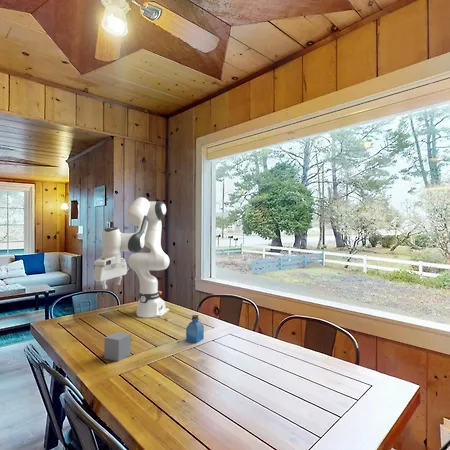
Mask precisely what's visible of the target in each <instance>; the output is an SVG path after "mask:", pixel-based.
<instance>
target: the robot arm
mask: <svg viewBox="0 0 450 450" xmlns="http://www.w3.org/2000/svg"><path fill="white" fill-rule="evenodd" d="M166 214H167V206H166V203H165V202H163V201H159V200H158V201H149V200H148V199H147V198H146V197H137V198H136V199H134V201H133V202H132V203H131V204H130V206H129V207H128V209H127V211H126V215H125V216H126V219H127V222H129V224H131V225H132V226H135V227H137V231H136V232H133V233H131V232H130V233H128V232H126V233H125V232H124V233H123V232H121V231H120V228H119V227H117V226H110V227H106V228H104V229H103V232H102V237H101V246H102V252H101V256H100V257H99V258H97V259H95V260H94V262H93V264H94V269H93V279H94V281H95V282H99V283H100V284H101V287H102V290H107V289H108V285H107V284H106V283H107V281H108V280H112V279H115V278H117V279H116V281H115V286H120V285H121V282H122V278H123V276H125V275H127V274H128V266H129V267H130V268H131V269H132V270H133V271H134V272H135V273H136V276H137V278H138V282H139V292H138V300H137V306H136V307H137V308H136V311H135V314H136V316H137V317H139V318H144V319H145V318H146V319H147V318H157V317H163V315H165V314H166V313H168V312H169V311H170V308H168V307H166V302H165V300H163V298H161V297H160V295H162V293H163V292H162V291H160V290H158V289H159V281H158V278H157V277H156V276H154V275H152V274H151V273H150V271H164V270H166V269H168V267H169V266H170V263H171V262H170V261H171V260H170V257H169V255H168V254H166V253H165V252H164V250H163V248H162V243H161V241H162V228H163V227H162V220H163V218H164V217H165V216H166ZM145 247H146V248H147V249H149V250H150V252H141V251H142V250H144V248H145ZM121 252H132V254H131V255H130V256H129V257H128V260H127V261H128V264H127V262H126V259H125V258H124V257H122V253H121ZM127 265H128V266H127Z"/></svg>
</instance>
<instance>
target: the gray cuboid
mask: <svg viewBox="0 0 450 450" xmlns="http://www.w3.org/2000/svg"><path fill="white" fill-rule="evenodd" d="M131 341H132V340H131V333H125V332H119V331H116V332H113V333H111V334H109V335H108V336H106V337H104V348H103V349H104V351H103V352H104V355H103V358H104V360H105V359H106V360H110V361H115V362H120V361H122V360H124V359H125V358H127V357H128V356H130V355H131V344H132V343H131Z"/></svg>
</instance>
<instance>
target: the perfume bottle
mask: <svg viewBox="0 0 450 450" xmlns="http://www.w3.org/2000/svg"><path fill="white" fill-rule="evenodd" d="M191 317H192V318H191V322H189V323H188V325H187V326H186V331H185V334H186V335H185V336H186V339H185V340H186V342H191V343H195V344H198V343H199V342H201V341H203V340H205V339H204V334H205V332H204V331H205V329H204V328H205V327H204V325H203V323H202V322H201V321H199V319H200V318H199V315H198V314H192V316H191Z"/></svg>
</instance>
